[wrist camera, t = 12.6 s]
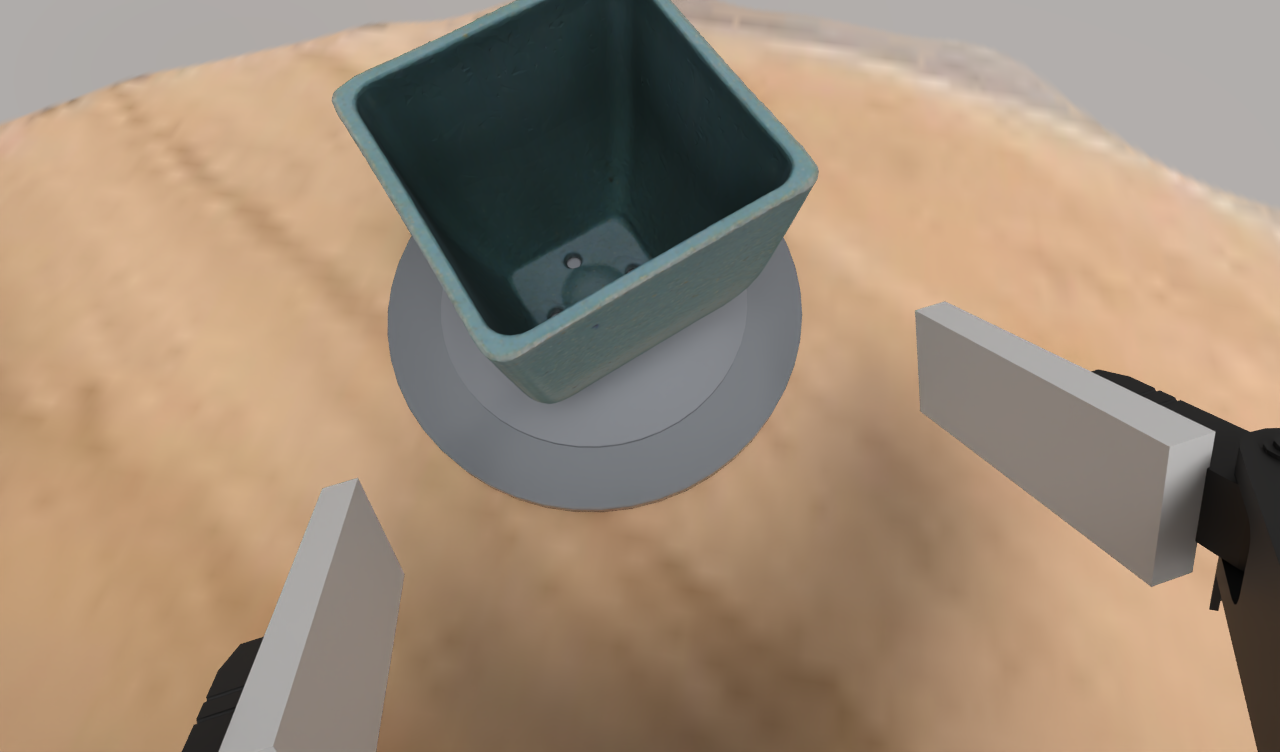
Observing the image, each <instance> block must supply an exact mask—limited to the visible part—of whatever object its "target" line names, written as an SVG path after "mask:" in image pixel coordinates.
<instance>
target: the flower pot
mask: <svg viewBox="0 0 1280 752" xmlns="http://www.w3.org/2000/svg"><path fill="white" fill-rule="evenodd" d="M332 102H333V105H334V107H335V110H336V112H337V114H338V116H339V117H340V119H341V121H342V122H343V123H344V125H345V126H346V128H347V129H348V131H349V133H350V135H351V136H352V138H353V139H354V141H355V143H356V144H357V146H358V147H359V149H360V151H361V152H362V154H363V156H364V157H365V158H366V160H367V162H368V163H369V165H370V167H371V169H372V171H373V172H374V173H375V175H376V176H377V178H378V180H379V181H380V183H381V185H382V187H383V188H384V190H385V191H386V193H387V195H388V196H389V198H390V200H391V201H392V203H393V205H394V206H395V208H396V210H397V211H398V213H399V215H400V216H401V218H402V220H403V222H404V223H405V225H406V226H407V228H408V230H409V232H410V233H411V235H412V237H413V238H414V240H415V242H416V243H417V245H418V246H419V248H420V250H421V252H422V253H423V255H424V257H425V258H426V260H427V261H428V264H429V265H430V267H431V269H432V270H433V272H434V274H435V275H436V277H437V279H438V281H439V282H440V284H441V286H442V287H443V289H444V291H445V292H446V294H447V296H448V298H449V299H450V301H451V303H452V304H453V306H454V308H455V310H456V312H457V313H458V315H459V317H460V318H461V320H462V322H463V324H464V326H465V327H466V329H467V331H468V333H469V335H470V336H471V338H472V339H473V341H474V343H475V344H476V346H477V347H478V349H479V350H480V352H481V353H482V354H483V355H484V356H485V357H486V358H487V359H489V360H490V361H491V362H492V363H493V364H494V365H495V366H496V367H497V368H498V369H499V370H500V371H501V372H502V373H503V374H504V375H505V376H506V377H507V378H508V379H509V380H510V381H511V382H513V383H514V384H515V385H516V386H517V387H518V388H519V389H520V390H521V391H522V392H523V393H524V394H526V395H527V396H528V397H529V398H531V399H533V400H535V401H537V402H540V403H546V404H553V403H557V402H560V401H563V400H565V399H567V398H569V397H571V396H573V395H575V394H576V393H578V392H580V391H581V390H583V389H584V388H586V387H588V386H589V385H591V384H593V383H594V382H596V381H598V380H599V379H601V378H603V377H604V376H606V375H608V374H609V373H611V372H613V371H614V370H616V369H618V368H619V367H621V366H623V365H624V364H626V363H628V362H629V361H631V360H633V359H634V358H636V357H638V356H639V355H641V354H643V353H644V352H646V351H648V350H649V349H651V348H653V347H654V346H656V345H658V344H659V343H661V342H663V341H664V340H666V339H668V338H670V337H671V336H673V335H675V334H676V333H678V332H680V331H681V330H683V329H685V328H686V327H688V326H689V325H691V324H693V323H694V322H696V321H698V320H700V319H701V318H703V317H705V316H707V315H708V314H710V313H712V312H714V311H715V310H717V309H719V308H720V307H722V306H724V305H725V304H727V303H728V302H730V301H731V300H733V299H734V298H735V297H737V296H738V295H739V294H741V293H742V292H743V291H744V290H745V289H747V288H748V287H749V286H750V285H751V284H752V283H753V281H754V280H755V279H756V278H757V277H758V276H759V275H760V273H761V272H762V270H763V269H764V268H765V266H766V265H767V263H768V261H769V260H770V258H771V257H772V255H773V254H774V252H775V250H776V249H777V247H778V245H779V244H780V242H781V240H782V239H783V237H784V235H785V233H786V232H787V230H788V228H789V227H790V225H791V223H792V221H793V220H794V218H795V216H796V215H797V213H798V211H799V210H800V208H801V206H802V204H803V203H804V201H805V199H806V197H807V196H808V194H809V192H810V190H811V189H812V187H813V185H814V184H815V182H816V180H817V178H818V173H819V171H818V167H817V165H816V164H815V162H814V161H813V160H812V159H811V157H810V156H809V154H808V153H807V152H806V151H805V149H804V148H803V146H802V145H801V144H800V143H799V142H797V141H796V140H795V138H794V137H793V136H792V135H791V134H790V133H789V132H788V130H787V129H786V128H785V126H784V125H783V124H781V123H780V122H779V121H778V120H777V118H776V117H775V116H774V115H773V114H772V112H771V111H770V110H769V109H768V108H767V107H766V106H765V105H764V104H763V103H762V102H760V101H759V100H758V99H757V97H756V96H755V94H754V93H753V92H751V91H750V90H749V89H748V88H747V86H746V85H745V84H744V82H743V81H742V80H741V79H740V78H739V77H738V76H737V75H736V74H735V73H734V72H733V71H732V70H731V69H730V68H729V66H728V65H727V64H726V63H725V62H724V60H723V59H722V58H721V57H720V56H719V55H718V54H717V52H716V51H715V50H714V49H713V48H712V47H711V46H710V45H709V43H708V42H707V41H706V40H705V39H704V37H702V36H701V35H700V33H699V32H698V31H697V30H696V29H695V28H694V26H693V25H692V24H691V23H690V22H689V21H688V20H687V19H686V18H685V16H684V15H683V14H682V13H681V12H680V11H679V9H678V8H677V7H676V6H675V5H674V4H673V3H672V1H671V0H516V1H514V2H512V3H510V4H508V5H506V6H503V7H501V8H499V9H497V10H496V11H494V12H492V13H489V14H486V15H484V16H483V17H480V18H478V19H476V20H475V21H473V22H471V23H469V24H467V25H465V26H463V27H461V28H459V29H456V30H454V31H453V32H451V33H449V34H447V35H444V36H442V37H440V38H438V39H436V40H434V41H432V42H430V41H429V42H428V43H426V44H424V45H422V46H420V47H418V48H416V49H413V50H412V51H410V52H407V53H404V54H403V55H401V56H399V57H396V58H394V59H392V60H390V61H387V62H385V63H383V64H380V65H378V66H376V67H374V68H371V69H369V70H367V71H365V72H363V73H361V74H358V75H356V76H354V77H353V78H352V79H350V80H349V81H348V82H346V83H345V84H343V85H342V86H341V87H339V88H338V89H337V90H336V91H335V92H334V93H333V97H332ZM572 257H577V258H579V259H580V260H581V264H580V266H579V267H577V268H570V267H568V265H567V261H568V260H569V259H570V258H572ZM633 268H635V269H633ZM630 269H633V270H632V271H630V272H629V270H630ZM628 272H629V273H628ZM556 312H560V313H558V314H556V315H555V316H553V317H552V315H553V314H554V313H556Z"/></svg>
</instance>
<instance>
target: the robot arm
mask: <svg viewBox="0 0 1280 752" xmlns="http://www.w3.org/2000/svg"><path fill="white" fill-rule="evenodd" d="M915 317H916V336H917V355H918V375H919V394H920V411H921V412H922V413H923V414H925V415H926V416H927V417H929V418H930V419H931V420H933V421H934V422H935V423H937V424H938V425H939V426H940V427H942V428H943V429H944V430H946V431H947V432H948V433H950V434H951V435H952V436H954V437H955V438H956V439H958V440H959V441H960V442H961V443H963V444H964V445H965V446H967V447H968V448H969V449H971V450H972V451H973V452H975V453H976V454H977V455H979V456H980V457H981V458H983V459H984V460H985V461H986V462H988V463H989V464H990V465H992V466H993V467H994V468H996V469H997V470H998V471H1000V472H1001V473H1002V474H1004V475H1005V476H1006V477H1008V478H1009V479H1010V480H1011V481H1013V482H1014V483H1015V484H1017V485H1018V486H1019V487H1021V488H1022V489H1023V490H1025V491H1026V492H1027V493H1029V494H1030V495H1031V496H1033V497H1034V498H1035V499H1036V500H1038V501H1039V502H1040V503H1042V504H1043V505H1044V506H1046V507H1047V508H1048V509H1050V510H1051V511H1052V512H1054V513H1055V514H1056V515H1058V516H1059V517H1060V518H1061V519H1063V520H1064V521H1065V522H1067V523H1068V524H1069V525H1071V526H1072V527H1073V528H1075V529H1076V530H1077V531H1079V532H1080V533H1081V534H1083V535H1084V536H1085V537H1086V538H1088V539H1089V540H1090V541H1092V542H1093V543H1094V544H1096V545H1097V546H1098V547H1100V548H1101V549H1102V550H1104V551H1105V552H1106V553H1108V554H1109V555H1110V556H1111V557H1113V558H1114V559H1115V560H1117V561H1118V562H1119V563H1121V564H1122V565H1123V566H1125V567H1126V568H1127V569H1129V570H1130V571H1131V572H1133V573H1134V574H1135V575H1136V576H1138V577H1139V578H1140V579H1142V580H1143V581H1144V582H1146V583H1147V584H1148V585H1150V586H1151V587H1152V586H1155V585H1158V584H1160V583H1163V582H1166V581H1169V580H1172V579H1175V578H1177V577H1180V576H1183V575H1186V574H1189V573H1191V572H1192V571H1193V565H1194V559H1195V553H1196V547H1197V543H1199V544H1201V545H1202V546H1204V547H1205V548H1207V549H1208V550H1210V551H1211V552H1213V553H1214V554H1216V555H1218V556H1219V558H1218V563H1217V569H1216V574H1215V580H1214V585H1213V590H1212V596H1211V602H1210V610H1216V611H1218V609H1219V605H1220V601H1222V602H1223V607H1224V611H1225V615H1226V619H1227V624H1228V628H1229V632H1230V636H1231V640H1232V645H1233V649H1234V653H1235V657H1236V662H1237V666H1238V670H1239V674H1240V678H1241V683H1242V687H1243V691H1244V695H1245V700H1246V704H1247V708H1248V712H1249V716H1250V721H1251V725H1252V729H1253V733H1254V738H1255V742H1256V746H1257V750H1258V752H1280V428H1265V429H1261V430H1257V431H1253V432H1249V431H1247V430H1244V429H1242V428H1240V427H1238V426H1236V425H1234V424H1231V423H1229V422H1227V421H1225V420H1223V419H1221V418H1218V417H1216V416H1214V415H1212V414H1210V413H1207V412H1205V411H1203V410H1201V409H1199V408H1197V407H1194V406H1192V405H1190V404H1188V403H1186V402H1184V401H1181V400H1180V401H1177V400H1176V398H1175V397H1173V396H1171V395H1168V394H1166V393H1164V392H1162V391H1156V390H1155V388H1153V387H1151V386H1149V385H1147V384H1144V383H1142V382H1140V381H1138V380H1136V379H1134V378H1131V377H1129V376H1125V375H1120V374H1116V373H1111V372H1107V371H1103V370H1095V371H1092V372H1091V371H1088V370H1086V369H1084V368H1082V367H1080V366H1078V365H1076V364H1074V363H1072V362H1070V361H1068V360H1066V359H1064V358H1061V357H1059V356H1057V355H1055V354H1053V353H1051V352H1049V351H1047V350H1045V349H1043V348H1041V347H1039V346H1036V345H1034V344H1032V343H1030V342H1028V341H1026V340H1024V339H1022V338H1020V337H1018V336H1016V335H1014V334H1012V333H1009V332H1007V331H1005V330H1003V329H1001V328H999V327H997V326H995V325H993V324H991V323H989V322H987V321H985V320H982V319H980V318H978V317H976V316H974V315H972V314H970V313H968V312H966V311H964V310H962V309H960V308H958V307H955V306H953V305H951V304H949V303H947V302H942V303H938V304H935V305H932V306H928V307H925V308H922V309H918V310H915ZM404 575H405V574H404V572H403V570H402V568H401V566H400V564H399V562H398V560H397V558H396V555H395V553H394V551H393V549H392V547H391V545H390V543H389V541H388V539H387V537H386V535H385V533H384V531H383V529H382V527H381V525H380V523H379V520H378V518H377V516H376V514H375V512H374V510H373V508H372V506H371V504H370V502H369V500H368V498H367V496H366V494H365V492H364V490H363V488H362V485H361V483H360V481H359V479H358V478H356V479H353V480H349V481H346V482H343V483H339V484H336V485H333V486H329V487H326V488H323V489H322V491H321V493H320V496H319V499H318V501H317V504H316V506H315V509H314V511H313V514H312V516H311V519H310V521H309V524H308V526H307V529H306V531H305V534H304V537H303V539H302V542H301V544H300V547H299V549H298V552H297V554H296V557H295V559H294V562H293V564H292V567H291V569H290V572H289V575H288V577H287V580H286V582H285V585H284V587H283V590H282V592H281V595H280V597H279V600H278V602H277V605H276V607H275V610H274V613H273V615H272V618H271V620H270V623H269V625H268V628H267V630H266V633H265V635H264V637H262V638H258V639H255V640H252V641H249V642H246V643H243V644H240V645H239V646H238V648H237V649H236V650H235V651H234V652H233V654H232V655H231V656H230V657H229V659H228V660H227V661H226V662H225V663H224V665H223V666H222V667H221V668H220V669H219V671H218V672H217V675H216V677H215V679H214V681H213V683H212V686H211V688H210V690H209V692H208V695H207V697H206V698H207V702H205V703H203V706H202V708H201V710H200V712H199V715H198V717H197V719H196V720H197V724H195V725H194V726H193V728H192V730H191V732H190V735H189V737H188V739H187V741H186V744H185V746H184V748H183V750H182V752H376V749H377V743H378V737H379V730H380V724H381V718H382V712H383V705H384V699H385V693H386V687H387V681H388V674H389V668H390V662H391V656H392V649H393V643H394V637H395V631H396V624H397V618H398V612H399V606H400V599H401V593H402V587H403V581H404Z"/></svg>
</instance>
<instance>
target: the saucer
mask: <svg viewBox="0 0 1280 752" xmlns="http://www.w3.org/2000/svg"><path fill="white" fill-rule="evenodd" d="M580 264H581V260H580V259H579V258H577V257H572V258H570V259H569V260H568V261H567V265H568V267H570V268H577V267H579V266H580ZM633 269H635V268H633ZM633 269H630V270H629V272H630V271H632V270H633ZM629 272H628V273H629ZM558 313H560V312H556V313H554V314H553V315H552V317H553V316H555V315H556V314H558ZM801 322H802V307H801V293H800V287H799V282H798V277H797V273H796V268H795V265H794V262H793V259H792V257H791V254H790V251H789V249H788V246H787V244H786V242H785V240H784V238H783V239H782V240H781V242H780V244H779V245H778V247H777V249H776V250H775V252H774V254H773V255H772V257H771V258H770V260H769V261H768V263H767V265H766V266H765V268H764V269H763V270H762V272H761V273H760V275H759V276H758V277H757V278H756V279H755V280H754V281H753V283H752V284H751V285H750V286H749V287H748V288H747V289H745V290H744V291H743V292H742V293H741V294H739V295H738V296H737V297H735V298H734V299H733V300H731V301H730V302H728V303H727V304H725V305H724V306H722V307H720V308H719V309H717V310H715V311H714V312H712V313H710V314H708V315H707V316H705V317H703V318H701V319H700V320H698V321H696V322H694V323H693V324H691V325H689V326H688V327H686V328H685V329H683V330H681V331H680V332H678V333H676V334H675V335H673V336H671V337H670V338H668V339H666V340H664V341H663V342H661V343H659V344H658V345H656V346H654V347H653V348H651V349H649V350H648V351H646V352H644V353H643V354H641V355H639V356H638V357H636V358H634V359H633V360H631V361H629V362H628V363H626V364H624V365H623V366H621V367H619V368H618V369H616V370H614V371H613V372H611V373H609V374H608V375H606V376H604V377H603V378H601V379H599V380H598V381H596V382H594V383H593V384H591V385H589V386H588V387H586V388H584V389H583V390H581V391H580V392H578V393H576V394H575V395H573V396H571V397H569V398H567V399H565V400H563V401H560V402H557V403H553V404H546V403H540V402H537V401H535V400H533V399H531V398H529V397H528V396H527V395H526V394H524V393H523V392H522V391H521V390H520V389H519V388H518V387H517V386H516V385H515V384H514V383H513V382H511V381H510V380H509V379H508V378H507V377H506V376H505V375H504V374H503V373H502V372H501V371H500V370H499V369H498V368H497V367H496V366H495V365H494V364H493V363H492V362H491V361H490V360H489V359H487V358H486V357H485V356H484V355H483V354H482V353H481V352H480V350H479V349H478V347H477V346H476V344H475V343H474V341H473V339H472V338H471V336H470V335H469V333H468V331H467V329H466V327H465V326H464V324H463V322H462V320H461V318H460V317H459V315H458V313H457V312H456V310H455V308H454V306H453V304H452V303H451V301H450V299H449V298H448V296H447V294H446V292H445V291H444V289H443V287H442V286H441V284H440V282H439V281H438V279H437V277H436V275H435V274H434V272H433V270H432V269H431V267H430V265H429V264H428V261H427V260H426V258H425V257H424V255H423V253H422V252H421V250H420V248H419V246H418V245H417V243H416V242H415V240H414V238H413V237H411V238H410V240H409V242H408V244H407V246H406V248H405V250H404V253H403V255H402V257H401V259H400V261H399V264H398V267H397V270H396V274H395V277H394V280H393V284H392V288H391V294H390V301H389V307H388V341H389V348H390V356H391V361H392V365H393V368H394V372H395V375H396V379H397V382H398V385H399V387H400V389H401V391H402V394H403V396H404V398H405V400H406V402H407V404H408V407H409V409H410V410H411V412H412V413H413V415H414V416H415V418H416V419H417V421H418V422H419V424H420V425H421V427H422V428H423V430H424V431H425V432H426V433H427V434H428V435H429V437H430V438H431V439H432V440H433V441H434V442H435V443H436V444H437V446H438V447H439V448H440V449H441V450H442V451H443V452H444V453H446V454H447V455H448V456H449V457H450V458H451V459H453V460H454V461H455V462H456V463H457V464H459V465H460V466H461V467H462V468H463V469H465V470H466V471H467V472H468V473H469V474H471V475H472V476H474V477H475V478H477V479H479V480H480V481H482V482H484V483H485V484H487V485H488V486H490V487H492V488H493V489H495V490H498V491H500V492H502V493H504V494H507V495H509V496H511V497H513V498H516V499H518V500H521V501H525V502H528V503H531V504H535V505H538V506H542V507H545V508H552V509H559V510H565V511H572V512H609V511H617V510H626V509H633V508H637V507H641V506H644V505H648V504H652V503H656V502H660V501H662V500H665V499H667V498H670V497H672V496H675V495H677V494H680V493H682V492H685V491H687V490H689V489H690V488H692V487H694V486H696V485H698V484H699V483H701V482H703V481H705V480H706V479H708V478H710V477H711V476H713V475H714V474H715V473H717V472H718V471H719V470H721V469H722V468H723V467H725V466H726V465H727V464H729V463H730V462H731V461H732V460H733V459H734V458H735V457H736V456H737V455H739V454H740V453H741V452H742V451H743V450H744V449H745V448H746V447H747V446H748V445H749V444H750V443H751V442H752V440H753V439H754V438H755V436H756V435H757V434H758V432H759V431H760V430H761V428H762V427H763V426H764V424H765V423H766V422H767V420H768V419H769V417H770V415H771V414H772V412H773V410H774V408H775V407H776V405H777V403H778V401H779V399H780V398H781V396H782V394H783V392H784V390H785V388H786V386H787V383H788V381H789V378H790V375H791V373H792V370H793V367H794V365H795V361H796V356H797V352H798V347H799V343H800V335H801Z"/></svg>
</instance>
